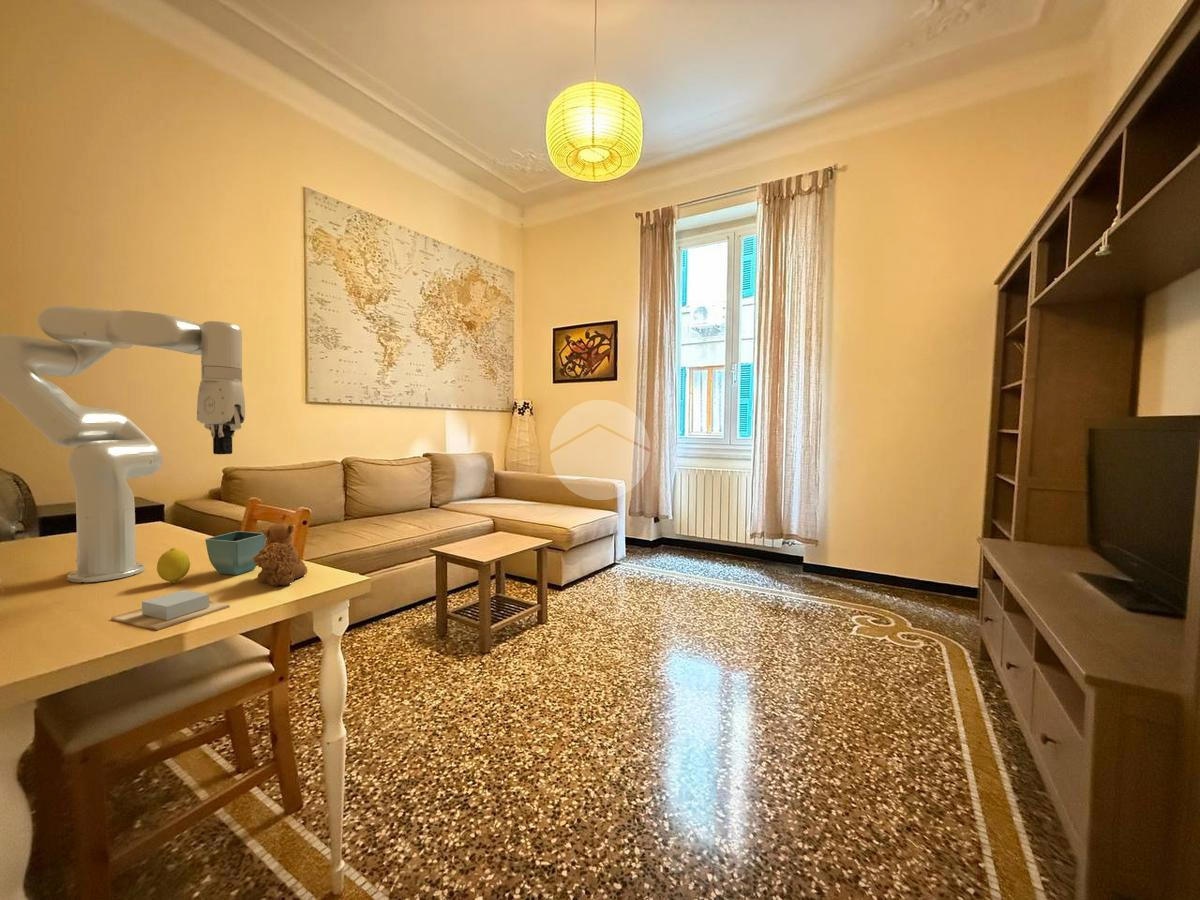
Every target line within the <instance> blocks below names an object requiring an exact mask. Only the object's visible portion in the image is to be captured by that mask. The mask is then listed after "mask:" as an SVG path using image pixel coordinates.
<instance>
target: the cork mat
mask: <svg viewBox="0 0 1200 900" xmlns="http://www.w3.org/2000/svg"><path fill="white" fill-rule="evenodd" d="M229 608H230V604H228V603H227V604H226V603H221V602H217V601H212V600H209V607H207V608H204V609H201V610H198V611H195V612H192V613H188V614H185V615H182V616H179V617H176V618H173V619H169V620H164V619H159V618H155V617H150V616H146V615H142V608H139V609H136V610H133V611H128V612H125V613H122V614H118V615H114V616H111V621H112V620H113V621H116V622H121V623H124V624H127V625H128V624H129V625H132V626H136V627H140V626H141V628H146V629H148V630H153V631H161V630H163V629H167V628H170V627H173V626H175V625H178V624H182V623H185V622H188V621H192V620H195V619H197V618H201V617H203V616H206V615H210V614H213V613H215V612H218V611H222V610H225V609H229Z"/></svg>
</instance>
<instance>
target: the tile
mask: <svg viewBox="0 0 1200 900" xmlns="http://www.w3.org/2000/svg"><path fill="white" fill-rule="evenodd" d="M209 601H210V594H209V593H204V592H200V591H199V592H198V591H193V590H189V589H182V590H179V591H175V592H171V593H167V594H165V595H160V596H157V597H153V598H149V599H146V600H142V601H141V609H142V615H146V616H150V617H155V618H159V619H164V620H169V619H173V618H176V617H179V616H182V615H185V614H188V613H192V612H195V611H198V610H201V609H204V608H207V607H209Z"/></svg>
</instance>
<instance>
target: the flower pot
mask: <svg viewBox="0 0 1200 900" xmlns="http://www.w3.org/2000/svg"><path fill="white" fill-rule="evenodd" d="M265 537H266V536H265V535H264V534H263V533H262V532H253V531H240V530H237V531H233V532H229V533H225V534H220V535H216V536H213V537H208V538H205V539H204V540H205V545H206V546H205V547H206V550H207V555H208V559H209V561H210V564H211V566H212V567H213V568H214V570H216V571H217V572H218V573H219V574H222V575H233V576H238V575H241V574H244V573H247V572H251V571H253V570H255V569H256V568H257V567H258V566H257V565H256V564H254V563H255V562H254V560H253V559H252V558H254V557H255V556H256V555H257V554H259V553H260V552H259V551H260V550H262V549H263V548H264V546H266V542H267V541H266V539H267V537H266V538H265ZM264 538H265V539H264ZM253 564H254V565H253Z"/></svg>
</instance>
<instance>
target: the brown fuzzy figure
mask: <svg viewBox="0 0 1200 900" xmlns="http://www.w3.org/2000/svg"><path fill="white" fill-rule="evenodd" d="M295 528H296V525H295V524H290V525H288V524H287V523H275V524H273V525H271V526H269V528H263V527H262V528H261V529H260V533H263V534H264V535H265V536H266V537H265V538H266V542H267V544H265V546H264V548H263V549H262V550H260V551H259V552H260V553H259V554H257V555H256V556H255V557H254V558H252V559H253V560H254V562H255V563H254V564H256V565H257V566H256V567H258V568H261V571H260V572H258V573H257V581H258V582H259V583H261V582H264V583H263V584H269V585H270V586H273V587H279V585H282V586H283V585H284V586H288V585H287V584H290V583H292V584H293V583H294V581H295V580H297V579H296V578H298V579H300V578H299V577H301V576H303V577H305V576H306V575H307V573H308V567H307V566H306V564H305V563H304V561H303V559H300V558H299V556H300V555H299V551H298V549H297V547H295V546H294V545H293V544H292V541H293V534H292V533H293V532H294V530H295ZM265 538H264V539H265ZM254 564H253V565H254ZM305 574H306V575H305ZM304 575H305V576H304ZM301 578H302V577H301ZM294 579H295V580H294ZM290 585H291V584H290Z"/></svg>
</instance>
